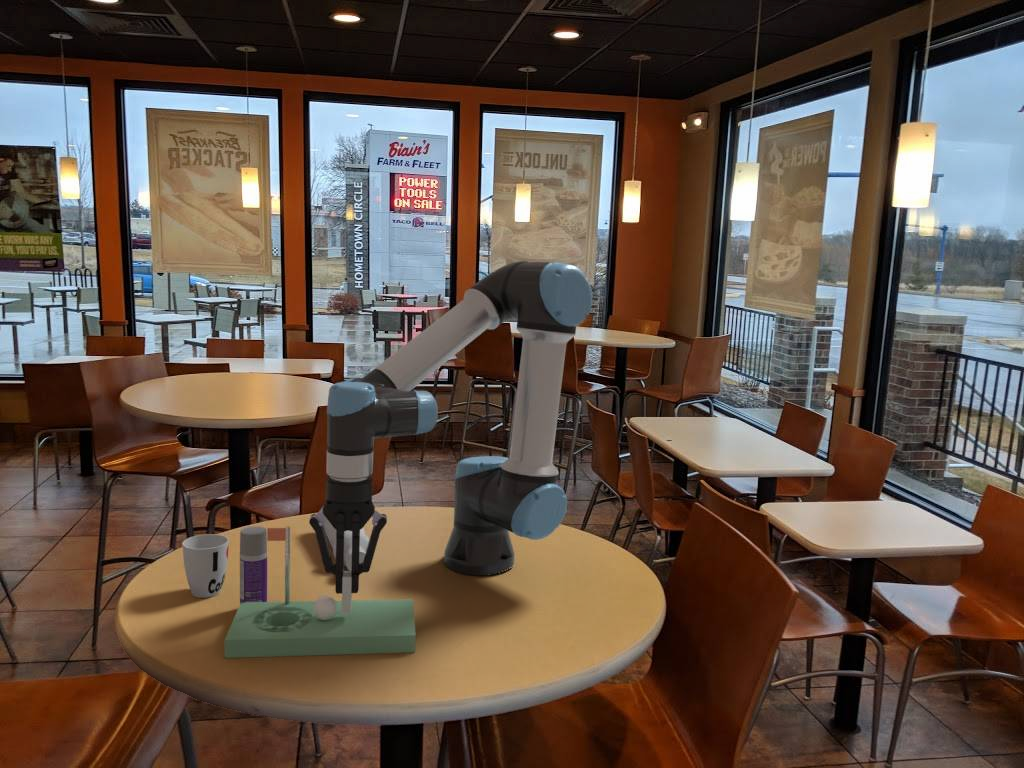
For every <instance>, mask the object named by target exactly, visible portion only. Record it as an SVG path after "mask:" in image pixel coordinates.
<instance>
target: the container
mask: <svg viewBox="0 0 1024 768" xmlns="http://www.w3.org/2000/svg"><path fill="white" fill-rule="evenodd" d="M239 533H240V536H239V538H240V539H239V604H240V603H241V602H268V541H267V528H266V527H264V526H259V525H258V526H257V525H256V526H247V527H244V528H242V529H240V531H239Z"/></svg>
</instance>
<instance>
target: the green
mask: <svg viewBox="0 0 1024 768" xmlns="http://www.w3.org/2000/svg"><path fill="white" fill-rule="evenodd" d="M315 601H316V600H311V601H308V600H307V601H306V600H305V601H304V600H303V601H301V600H300V601H296V600H295V601H290V604H288V605H286V604H285V601H267V602H241V603H240V602H239V606H238V608H237V611H236V612H235V615H234V617H233V620H232V621H231V622H232V623H231V624H230V627H229V628H228V632H227V634H226V636H225V639H224V658H225V659H227V658H228V659H232V658H235V659H237V658H264V657H265V658H268V657H299V656H301V657H302V656H303V657H304V656H305V657H306V656H331V655H333V656H337V655H365V654H366V655H368V654H370V655H371V654H398V653H399V654H402V653H403V654H404V653H405V654H407V653H416V638H417V637H416V625H415V624H416V622H415V621H416V620H415V609H414V608H415V607H414V599H410V598H409V599H364V600H363V599H361V600H359V599H357V600H355V599H354V600H351V614H342V600H335V601H336V603H337V611H336V613H335V615H334V616H333V617H332V618H330V619H328V620H320V619H318V618H317V617H316V616H315V615H314V612H313V605H314V602H315Z"/></svg>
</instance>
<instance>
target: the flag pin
mask: <svg viewBox="0 0 1024 768" xmlns="http://www.w3.org/2000/svg"><path fill="white" fill-rule="evenodd" d="M266 530H267V542H272V541H273V542H285V543H284V544H285V547H284V550H285V551H284V552H285V553H284V556H285V557H284V559H285V560H284V561H285V562H284V563H285V564H284V602H285V604H286V605H288V604H290V602H291V600H290V599H291V598H290V597H291V593H290V592H291V526H290V525H287V526H285V527H267V528H266Z"/></svg>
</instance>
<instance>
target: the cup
mask: <svg viewBox="0 0 1024 768" xmlns="http://www.w3.org/2000/svg"><path fill="white" fill-rule="evenodd" d="M229 543H230V539H229V538H228V537H227V536H226V535H223V534H212V533H211V534H210V533H207V534H206V533H205V534H198V535H194V536H191V537H188V538H186V539H184V540H183V541H182V544H181V545H182V555H183V566H184V571H185V576H186V581H187V584H188V587H189V589H190V592H191V594H192V595H191V596H193V597H196V598H200V599H201V598H204V599H205V598H211V597H214V596H217V595H218V594H220V593H221V591H222V588H223V586H224V582H225V579H226V573H227V567H228V561H229V560H228V559H229V547H230V546H229Z"/></svg>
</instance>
